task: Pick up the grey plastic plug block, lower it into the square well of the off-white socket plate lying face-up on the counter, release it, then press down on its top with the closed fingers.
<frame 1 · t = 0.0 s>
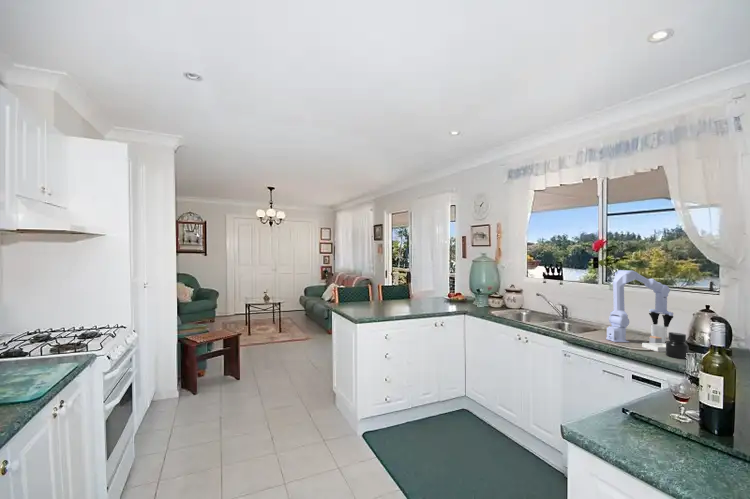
hand: (660, 325, 217), 10 cm above the worktop, tool pointing down, fingers open, 7 cm apart
ink bottle: (676, 357, 180), on the worktop
plug: (655, 345, 206), on the worktop
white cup: (658, 342, 217), on the worktop
socket plate: (663, 349, 195), on the worktop
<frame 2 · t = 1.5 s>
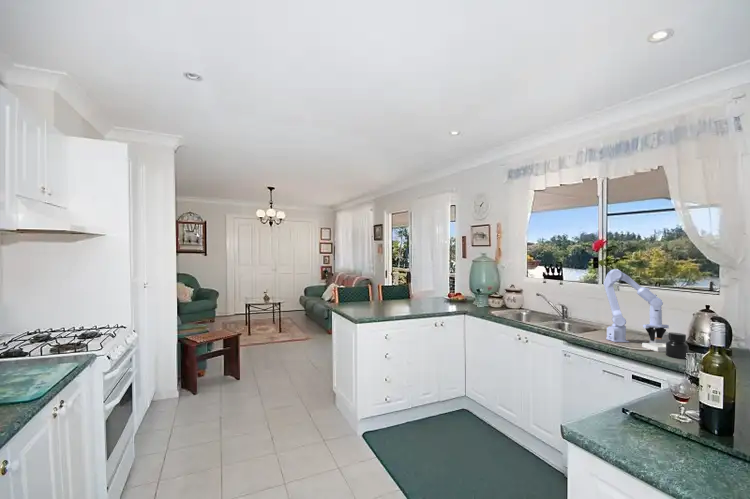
hand: (656, 340, 206), 3 cm above the worktop, tool pointing down, fingers closed on plug, 4 cm apart
plug: (655, 346, 206), on the worktop, touching gripper
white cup: (660, 334, 213), point 5 cm above the worktop, touching gripper
everything else where it was.
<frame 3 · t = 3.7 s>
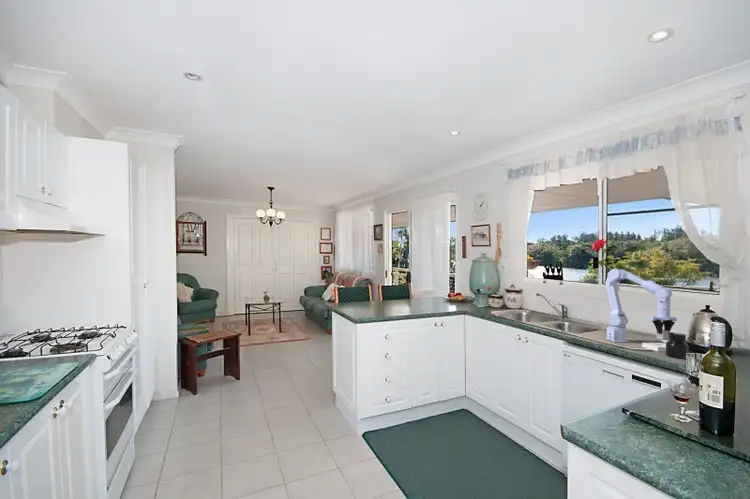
hand: (663, 333, 196), 9 cm above the worktop, tool pointing down, fingers closed on plug, 4 cm apart
plug: (662, 339, 196), point 6 cm above the worktop, touching gripper
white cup: (666, 337, 213), point 3 cm above the worktop
everything else where it was.
when the fingers open (3 cm above the worktop, at t = 5.2 s): plug stays where it is, resting on socket plate.
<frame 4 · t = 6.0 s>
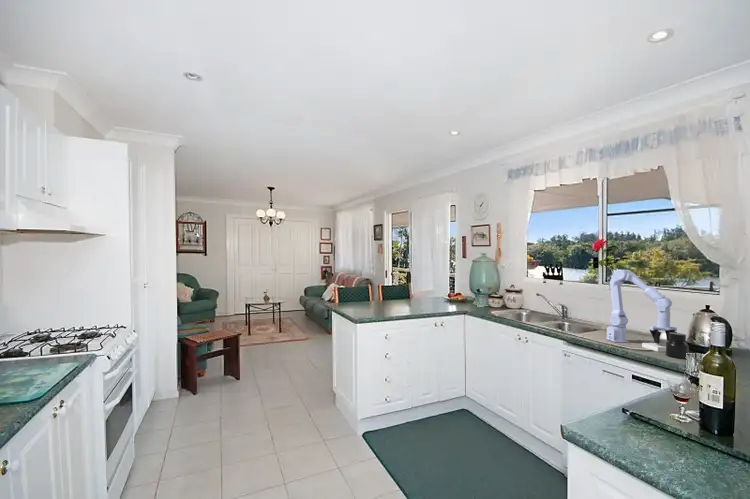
hand: (663, 343, 196), 3 cm above the worktop, tool pointing down, fingers open, 7 cm apart
plug: (662, 348, 196), resting on socket plate
everything else where it was.
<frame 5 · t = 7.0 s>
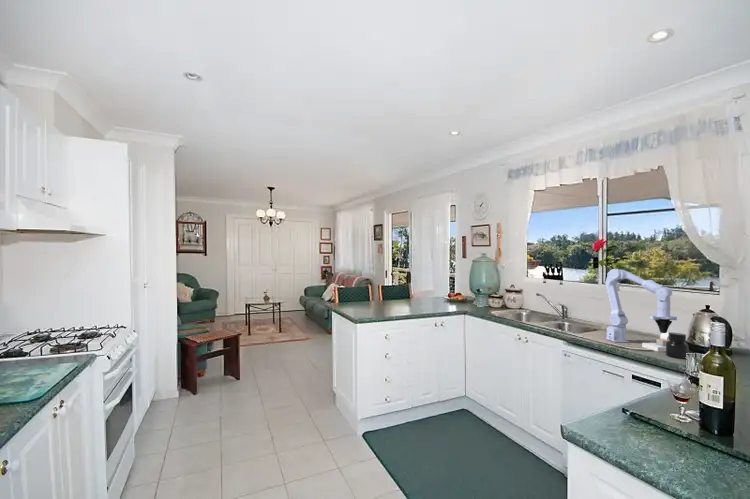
hand: (663, 332, 196), 9 cm above the worktop, tool pointing down, fingers closed
nothing on the worktop moved.
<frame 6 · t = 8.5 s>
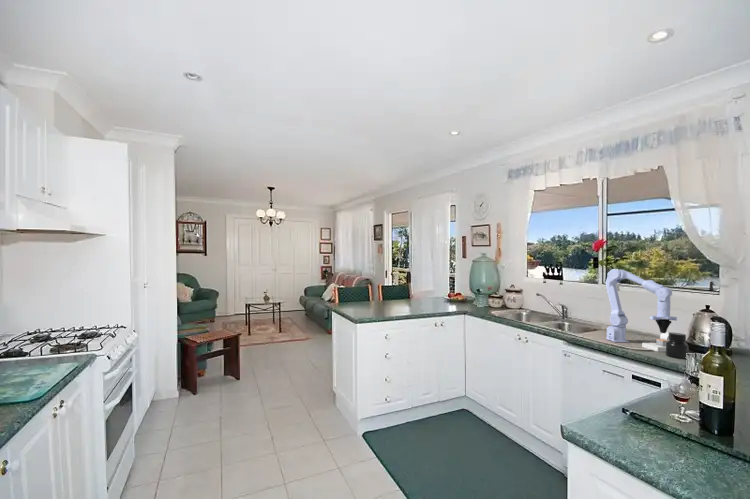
hand: (663, 332, 196), 9 cm above the worktop, tool pointing down, fingers closed
nothing on the worktop moved.
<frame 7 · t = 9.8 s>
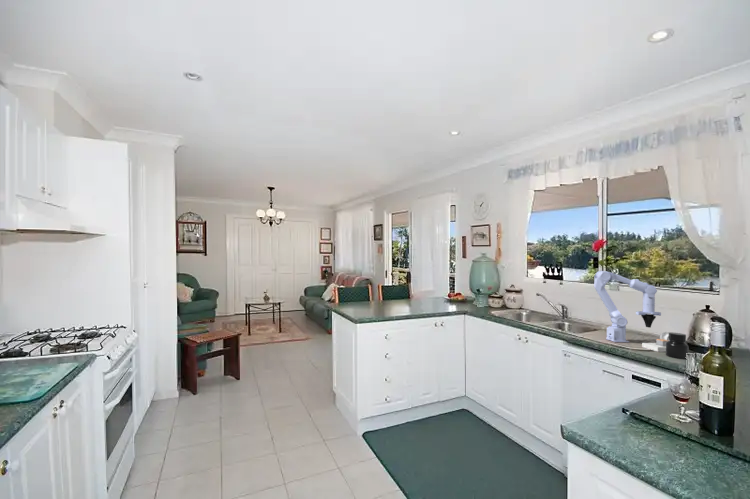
hand: (648, 327, 210), 10 cm above the worktop, tool pointing down, fingers closed
nothing on the worktop moved.
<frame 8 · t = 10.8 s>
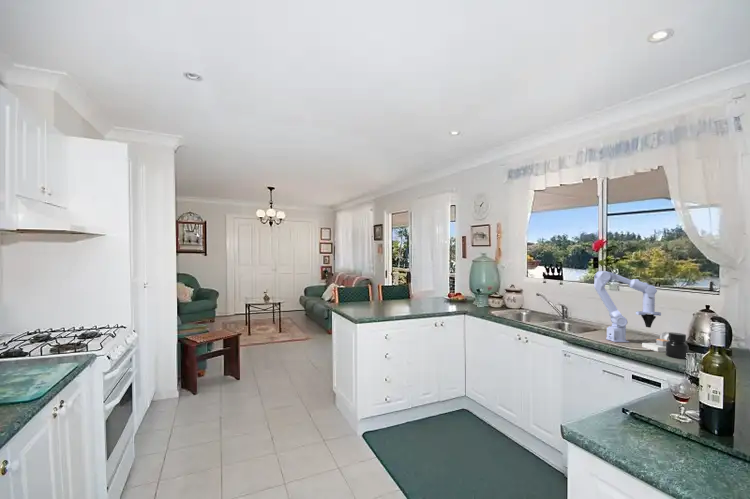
hand: (648, 327, 210), 10 cm above the worktop, tool pointing down, fingers closed
nothing on the worktop moved.
at the end: plug 0.1 cm off-centre on the socket plate, point 0.4 cm above the socket plate's base; plug tilted 0°; the gripper is holding nothing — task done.
